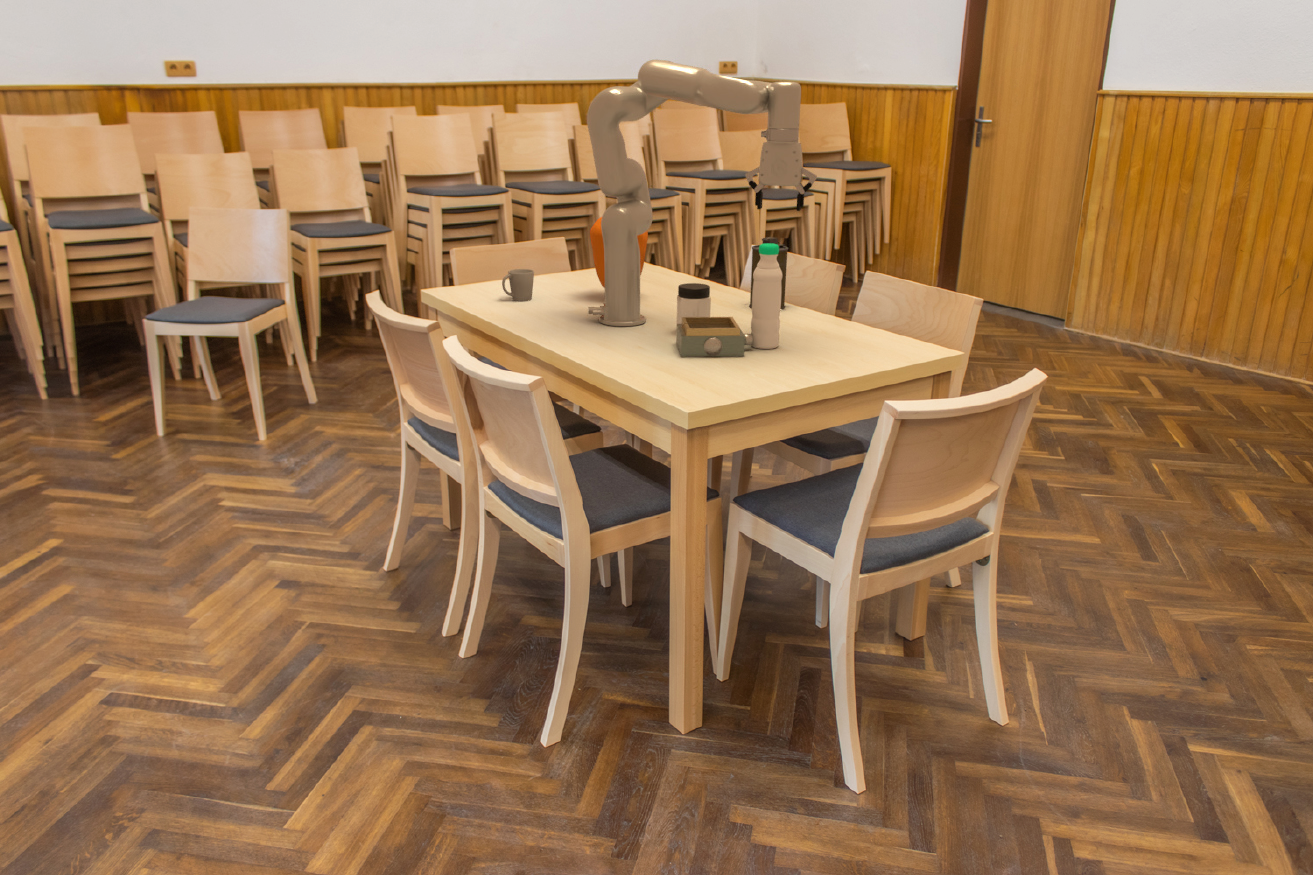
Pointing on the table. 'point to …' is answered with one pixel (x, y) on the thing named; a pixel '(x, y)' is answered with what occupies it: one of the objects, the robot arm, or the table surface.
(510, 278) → the cup
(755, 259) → the canister
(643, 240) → the orange egg-shaped ornament
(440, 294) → the table surface
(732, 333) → the gearbox
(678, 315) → the jar
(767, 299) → the water bottle
